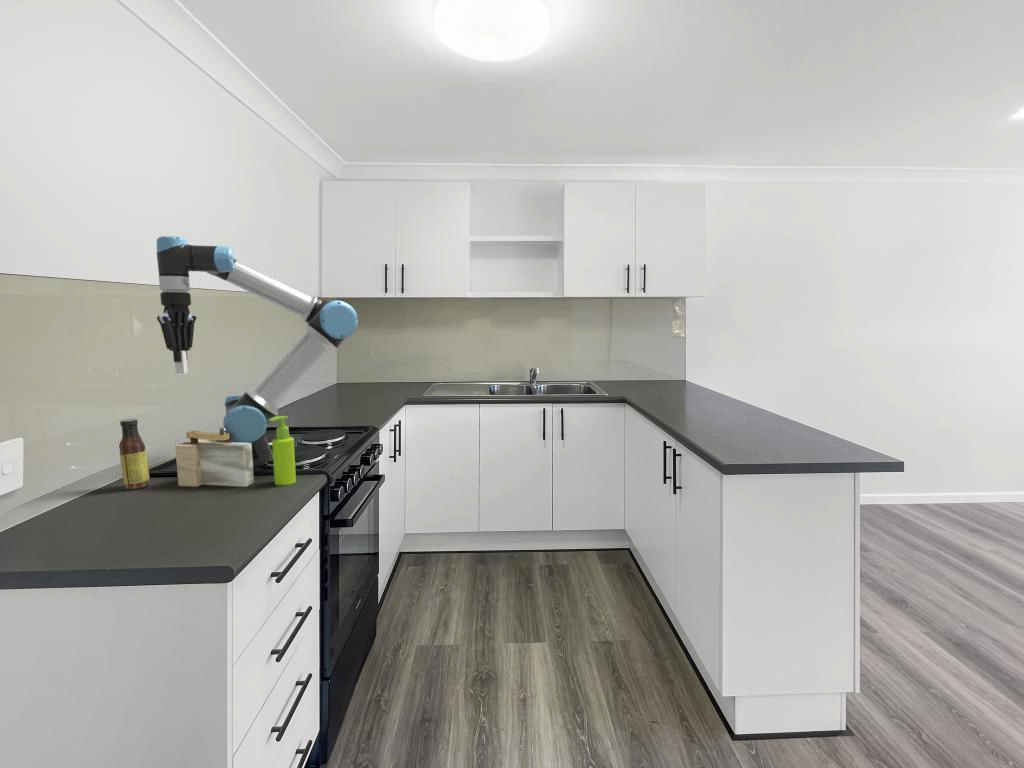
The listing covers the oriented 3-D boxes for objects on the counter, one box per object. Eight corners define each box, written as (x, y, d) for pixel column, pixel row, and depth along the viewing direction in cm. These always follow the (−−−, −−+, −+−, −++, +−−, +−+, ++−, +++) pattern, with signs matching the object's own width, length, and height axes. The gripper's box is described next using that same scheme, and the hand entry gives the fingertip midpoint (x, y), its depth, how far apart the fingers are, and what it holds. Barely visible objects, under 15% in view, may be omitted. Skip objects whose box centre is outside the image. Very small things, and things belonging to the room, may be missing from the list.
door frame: (197, 477, 171) (194, 430, 169) (258, 480, 168) (255, 432, 166) (178, 485, 163) (174, 436, 161) (241, 488, 160) (238, 438, 158)
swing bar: (185, 438, 164) (184, 427, 163) (193, 435, 167) (193, 425, 166) (222, 440, 160) (221, 429, 160) (230, 438, 163) (229, 427, 163)
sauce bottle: (155, 484, 164) (149, 417, 162) (139, 491, 158) (132, 422, 156) (134, 483, 165) (128, 417, 163) (117, 490, 159) (110, 421, 156)
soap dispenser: (267, 484, 164) (263, 417, 161) (286, 478, 170) (283, 413, 167) (281, 487, 161) (277, 419, 159) (300, 481, 167) (296, 415, 165)
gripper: (170, 290, 155) (176, 375, 158) (202, 292, 168) (208, 370, 171) (145, 291, 156) (153, 375, 159) (180, 292, 169) (186, 370, 172)
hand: (181, 372), depth 165 cm, fingers closed
